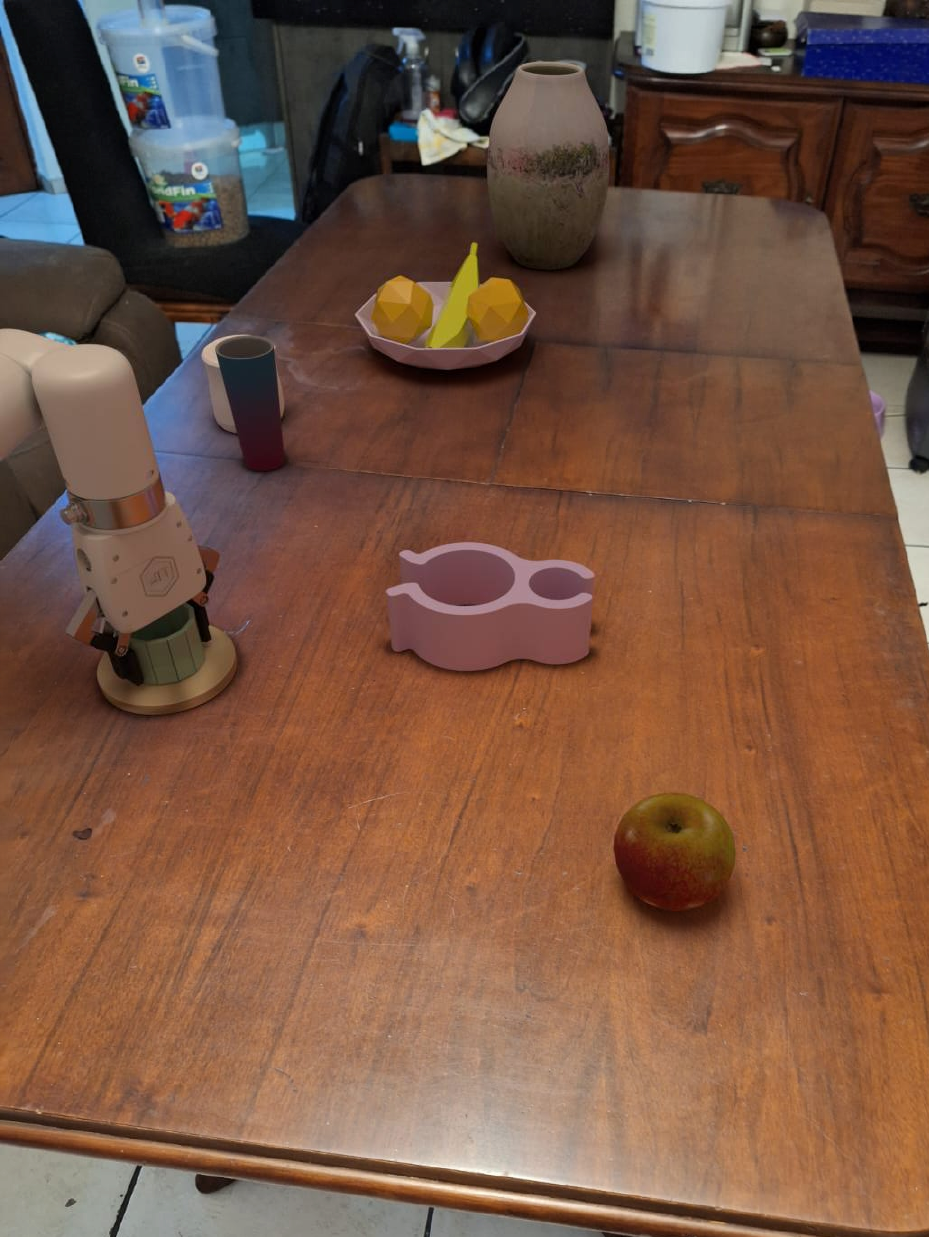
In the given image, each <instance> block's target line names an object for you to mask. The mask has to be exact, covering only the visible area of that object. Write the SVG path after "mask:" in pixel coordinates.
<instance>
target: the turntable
mask: <svg viewBox="0 0 929 1237" xmlns="http://www.w3.org/2000/svg"><path fill="white" fill-rule="evenodd" d="M209 630H210V634H211V640H210V641H208V642H203V641H202V642H203V646H204V652H205V661H204V662H203V664H202V665H201V666H200V668H199V669H198V670H197V671H195V672H196V673H194V674H192V675H190V676H188V677H186V678H185V679H183V680H181V681H179V680H178V682H173V683H167V684H162V685H159V684H158V685H154V684H148V683H143V684H141V685H140V686H137V685H135V684H134V683H132V682H130V681H129V680H127V679H121V678H120V677H118V676H117V675H116V674H115V672H114V670H113V667H112V664H111V661H110V658H109V655H108V652H105V651H104V653H103V655H102V656H101V658H100V660H99V662H98V665H97V669H96V676H97V677H96V678H97V683H98V685H99V688H100V690H101V692H102V695H103V696H104V697H105V699H106V700H107V701H108V702H109V703H110V704H112V705H113V706H115V707H116V708H118V709H120V710H122V711H125V712H128V713H133V714H136V715H146V716H160V715H161V716H162V715H170V714H176V713H180V712H184V711H187V710H191V709H193V708H196V707H199V706H200V705H202V704H204V703H207V702H208V701H210V700H211V699H213V698H215V697H216V696H218V695H219V694H220V693H221V692H223V691H224V690H225V688H226V687H228V685H229V684H230V683H231V682H232V681H233V678H234V677H235V675H236V672H237V669H238V656H237V651H236V647H235V644H234V642H233V641H232V638H230V637H229V636H228V634H226V633H225V632H224V631H222V630H221V629H219V628H218V627H215V626H214V625H211V624H210V625H209Z"/></svg>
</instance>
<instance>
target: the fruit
mask: <svg viewBox="0 0 929 1237" xmlns="http://www.w3.org/2000/svg"><path fill="white" fill-rule="evenodd" d="M733 834H734V833H733V832H732V828H731V826H730V825H729V822H727V819H725V817H724V816H723V815H722V813H721V812H719V811H718V810H717V809H716V808H715V807H714V806H713V805H711V804H710V803H708V802H707V801H705V800H703V799H701V798H699V797H697V796H694V795H690V794H687V793H682V792H661V793H657V794H652V795H650V796H648V797H645V798H643V799H641V800H639V801H638V802H636V803H634V805H632V806H631V807H630V808H629V809H628V810H627V811H626V812H625V813H624V814H623V816H622V817H621V819H620V821H619V823H618V825H617V827H616V829H615V833H614V838H613V854H614V861H615V865H616V868H617V870H618V873H619V875H620V877H621V879H622V881H623V883H624V884H625V886H626V887H627V888H628V890H629V891H630V892H631V893H632V894H633V895H634V896H636V897H637V899H639V900H640V901H642V902H644V903H646V904H648V905H649V906H651V907H654V908H657V909H661V910H665V911H670V912H681V911H688V910H693V909H696V908H699V907H701V906H703V905H705V904H707V903H708V902H710V901H712V900H714V899H715V898H716V897H717V896H718V895H720V893H721V892H722V891H723V890H724V889H725V887H726V886H727V884H728V883H729V881H730V879H731V877H732V874H733V871H734V868H735V863H736V852H737V851H736V843H735V841H736V840H735V837H734V835H733Z"/></svg>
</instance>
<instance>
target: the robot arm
mask: <svg viewBox="0 0 929 1237" xmlns="http://www.w3.org/2000/svg"><path fill="white" fill-rule="evenodd" d="M44 428H46V430H47V433H48V436H49V439H50V442H51V445H52V447H53V451H54V454H55V457H56V460H57V463H58V466H59V469H60V473H61V475H62V478H63V481H64V484H65V488H66V491H65V494H66V497H67V501H68V504H67V505H66V506H65V508H62V509H60V510H59V516H60V518H61V520H62V521H63V522H64V523H65V525H67V526H70V525H71V536H72V537H71V538H72V546H73V553H74V557H75V563H76V569H77V572H78V577H79V581H80V585H81V588H82V592H83V596H84V598H83V600H82V601H81V603H80V604H79V606H78V608H77V609H76V611H75V613H74V615H73V617H72V618H71V620H70V622H69V624H68V625H67V627H66V629H65V634H66V635H67V636H69V637H70V638H72V639H74V640H75V641H77V642H79V643H81V644H84V645H86V646H89V647H91V648H93V649H96V650H98V651H102V652H104V653H105V652H108V655H109V658H110V661H111V664H112V667H113V670H114V672H115V674H116V675H117V676H118V677H120V678H121V679H127V680H129V681H130V682H132V683H134V684H135V685H137V686H140V685H141V684H143V681H144V678H143V675H142V671H141V668H140V665H139V662H138V659H137V656H136V653H135V651H134V650H132V649H131V648H129V642H130V637H131V633H132V632H135V631H137V630H139V629H141V628H143V627H145V626H146V625H148V624H150V623H151V622H153V621H155V620H157V619H158V618H160V617H162V616H163V615H165V614H167V613H168V612H170V611H172V610H173V609H175V608H177V607H178V606H180V605H182V604H183V603H185V602H187V603H188V604H189V605H191V606H192V607H193V608H194V612H195V616H196V619H197V623H198V627H199V631H200V635H201V639H202V641H203V642H208V641H210V640H211V634H210V630H209V625H211V623H210V620H209V616H208V613H207V608H206V606H207V605H208V604H209V602H210V597H209V595H208V594H209V591H210V589H211V587H212V586H213V583H214V581H215V575H214V573H215V572H216V569H217V566H218V563H219V560H220V556H221V554H220V552H219V551H217V550H215V549H213V548H211V547H208V546H204V545H199V544H197V542H196V539H195V536H194V534H193V531H192V529H191V527H190V524H189V522H188V520H187V518H186V515H185V514H184V512H183V510H182V508H181V506H180V504H179V502H178V501H177V499H176V496H174V495H173V493H171V492H169V491H166V490H165V487H164V483H163V480H162V476H161V471H160V469H159V464H158V461H157V457H156V454H155V448H154V445H153V441H152V438H151V433H150V429H149V426H148V421H147V417H146V414H145V411H144V407H143V402H142V400H141V395H140V392H139V387H138V382H137V379H136V376H135V373H134V369H133V367H132V364H131V363H130V361H129V360H128V358H127V357H126V355H124V354H123V353H122V352H121V351H119V350H117V349H115V348H112V347H111V346H108V345H103V344H96V343H82V344H68V343H64V342H61V341H58V340H55V339H53V338H48V337H46V336H42V335H41V334H36V333H34V332H30V331H27V330H23V329H17V328H0V462H1V461H3V460H4V459H5V458H6V457H8V456H9V455H10V454H11V453H12V452H13V451H14V450H16V449H17V448H18V447H19V446H20V445H21V444H22V443H23V442H25V440H27V439H28V438H29V437H30V436H31V435H33V433H36V432H38V431H40V430H42V429H44ZM100 618H101V621H100V626H99V630H98V631H95V630H92V629H93V625H94V624H95V622H96V620H97V619H100ZM115 630H117V632H116V634H115ZM114 634H115V636H114Z"/></svg>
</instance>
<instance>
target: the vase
mask: <svg viewBox="0 0 929 1237" xmlns="http://www.w3.org/2000/svg"><path fill="white" fill-rule="evenodd" d="M486 162H487V163H486V176H487V177H486V178H487V179H486V180H487V190H488V199H489V204H490V209H491V214H492V217H493V220H494V224H495V227H496V229H497V232H498V234H499V237H500V238H501V240H502V243H503V244H504V246H505V248H506V249H507V251H508V252H509V254H510V255H511V257H512V258H513V259H514V260H515V262H517V263H518V264H519V265H521V266H524V267H527V268H530V269H534V270H535V269H536V270H548V271H549V270H552V271H553V270H559V269H565V268H568V267H572V266H573V265H574V264H576V263H577V262H578V261H579V260H580V259H581V258H582V256H584V254H585V252H586V251H587V249H588V248H589V247H590V245H591V243H592V241H593V239H594V238H595V235H596V233H597V230H598V228H599V225H600V224H601V223H600V222H601V220H602V217H603V213H604V209H605V205H606V201H607V196H608V190H609V184H610V183H609V181H610V141H609V132H608V127H607V124H606V120H605V118H604V115H603V113H602V111H601V108H600V106H599V104H598V102H597V100H596V98H595V96H594V94H593V92H592V90H591V87H590V86H589V83H588V78H587V76H586V71H585V70H584V68H583V67H581V66H579V65H577V64H573V63H568V62H561V61H533V62H532V61H531V62H527V63H523V64H521V65H519V66H518V67H517V68H516V70H515V72H514V76H513V79H512V81H511V84H510V85H509V88H508V90H507V91H506V93H505V95H504V97H503V99H502V100H501V102H500V103H499V106H498V107H497V110H496V112H495V114H494V117H493V118H492V122H491V125H490V130H489V137H488V148H487V161H486Z"/></svg>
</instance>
